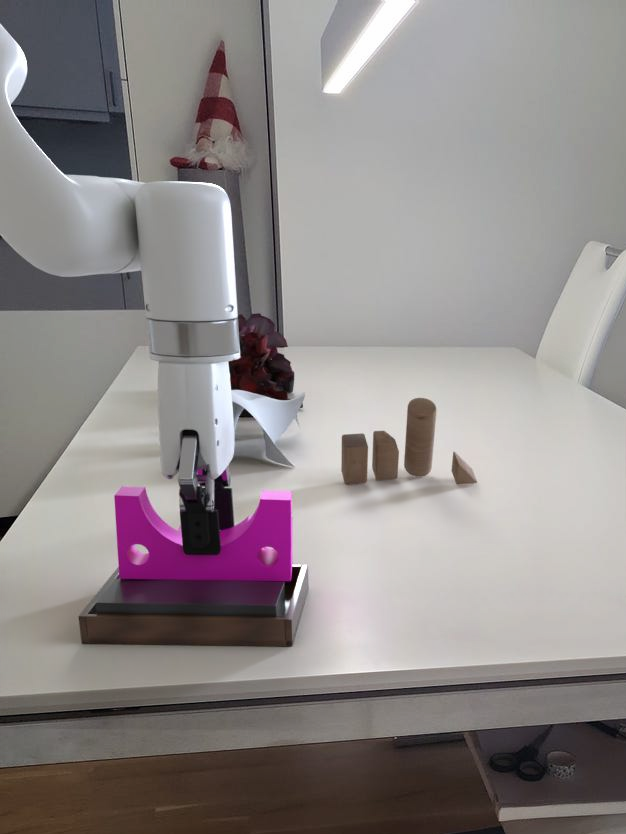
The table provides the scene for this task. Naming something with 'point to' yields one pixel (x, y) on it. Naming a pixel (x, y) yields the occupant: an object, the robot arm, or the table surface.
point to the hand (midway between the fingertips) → (210, 539)
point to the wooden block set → (387, 452)
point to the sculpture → (268, 417)
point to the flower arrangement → (261, 361)
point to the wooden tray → (196, 611)
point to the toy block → (234, 562)
